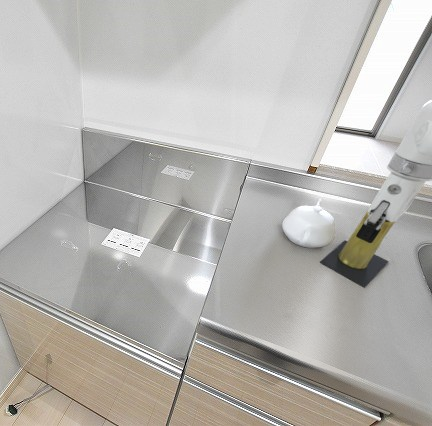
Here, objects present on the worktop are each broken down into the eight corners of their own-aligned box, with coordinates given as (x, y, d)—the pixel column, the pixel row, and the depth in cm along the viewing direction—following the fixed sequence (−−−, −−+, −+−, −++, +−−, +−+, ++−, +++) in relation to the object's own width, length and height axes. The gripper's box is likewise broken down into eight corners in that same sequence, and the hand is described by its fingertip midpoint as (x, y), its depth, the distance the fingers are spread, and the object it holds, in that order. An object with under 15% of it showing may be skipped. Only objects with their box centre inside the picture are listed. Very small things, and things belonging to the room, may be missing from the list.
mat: (388, 262, 74) (389, 261, 74) (364, 287, 68) (365, 287, 67) (344, 240, 81) (345, 240, 80) (319, 262, 74) (319, 261, 74)
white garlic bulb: (288, 211, 92) (300, 183, 86) (334, 226, 86) (350, 197, 80) (271, 246, 79) (283, 217, 73) (323, 267, 73) (341, 236, 67)
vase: (342, 266, 73) (370, 221, 64) (334, 250, 77) (360, 205, 69) (370, 271, 71) (404, 225, 63) (361, 254, 76) (391, 209, 67)
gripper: (423, 186, 52) (372, 259, 63) (452, 160, 60) (402, 229, 70) (374, 170, 57) (334, 240, 68) (406, 148, 65) (366, 214, 75)
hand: (369, 234), depth 69 cm, fingers closed on vase, 5 cm apart
